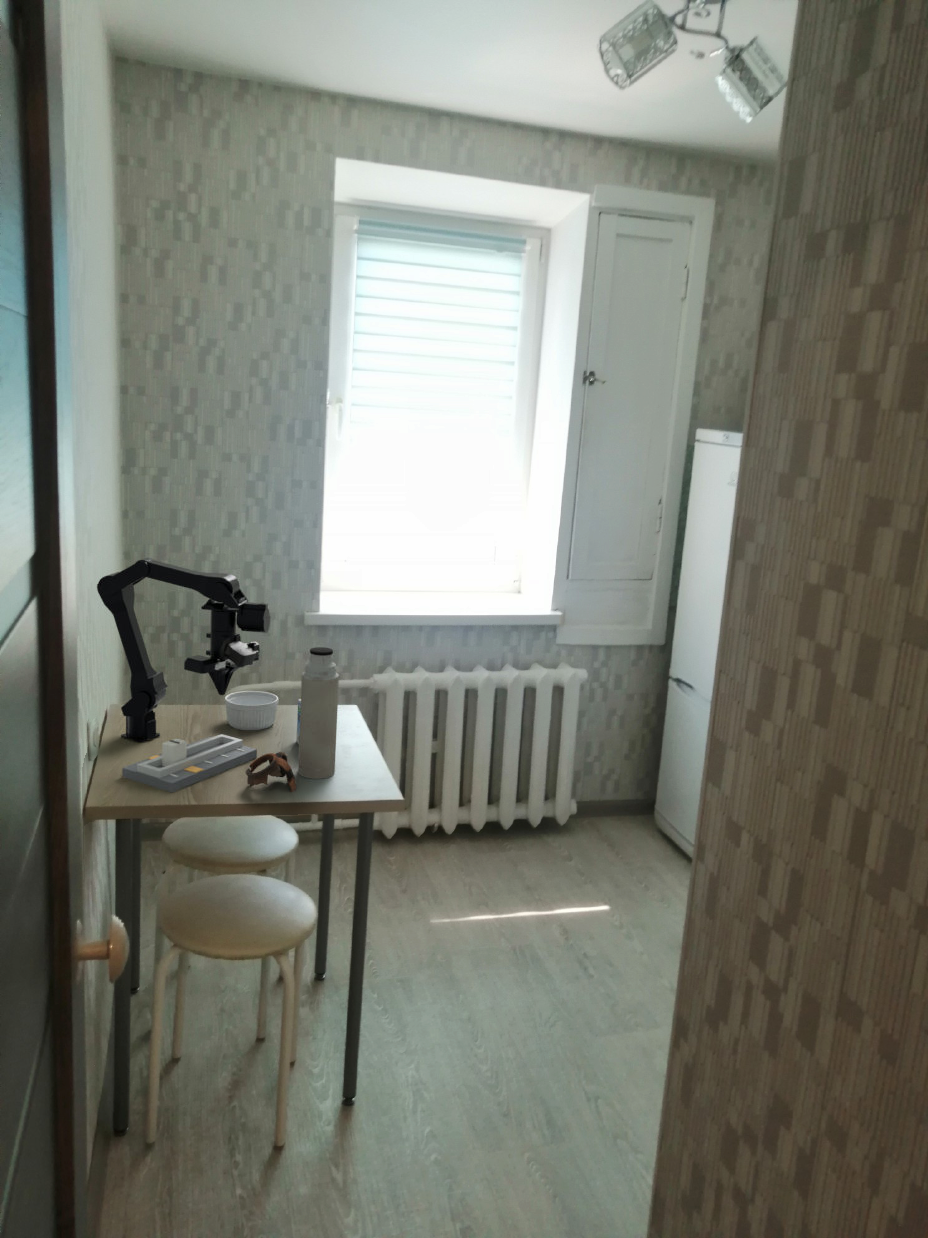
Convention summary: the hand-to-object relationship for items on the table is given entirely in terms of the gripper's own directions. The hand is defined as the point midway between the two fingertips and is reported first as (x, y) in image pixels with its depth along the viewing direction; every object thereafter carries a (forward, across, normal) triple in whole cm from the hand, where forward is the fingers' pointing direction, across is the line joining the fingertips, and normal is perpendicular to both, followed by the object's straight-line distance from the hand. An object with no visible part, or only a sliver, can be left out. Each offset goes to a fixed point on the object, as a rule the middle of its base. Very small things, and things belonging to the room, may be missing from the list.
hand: (221, 694), depth 214 cm
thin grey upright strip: (+12, +12, -18) cm, 25 cm away
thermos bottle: (+12, 0, -29) cm, 31 cm away
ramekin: (+12, +16, +5) cm, 21 cm away
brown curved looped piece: (+12, -12, -27) cm, 32 cm away
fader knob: (+10, -20, -6) cm, 23 cm away
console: (+12, -15, -6) cm, 20 cm away
